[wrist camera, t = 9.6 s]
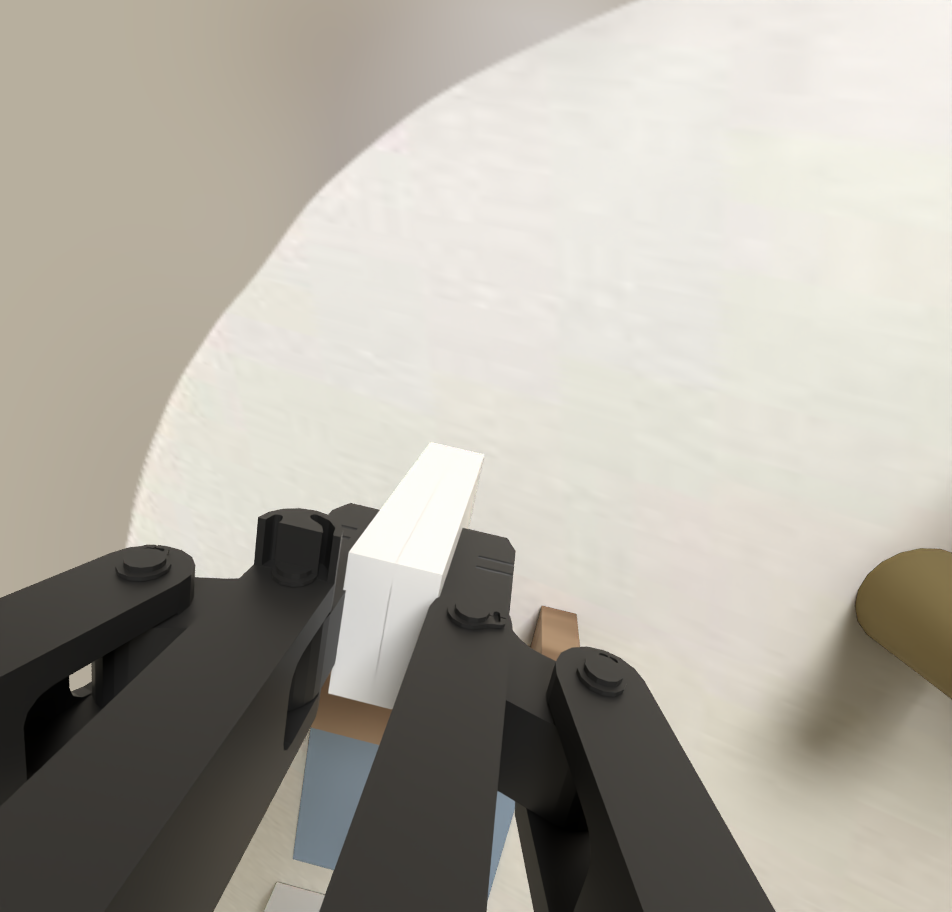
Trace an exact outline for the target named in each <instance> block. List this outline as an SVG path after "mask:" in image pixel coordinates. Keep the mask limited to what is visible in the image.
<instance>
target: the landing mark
mask: <svg viewBox="0 0 952 912" xmlns="http://www.w3.org/2000/svg"><path fill="white" fill-rule="evenodd" d="M378 747H379V745H377V744H373V743H369V742H365V741H361V740H357V739H353V738H350V737H346V736H342V735H338V734H334V733H330V732H326V731H322V730H319V729H315V728H311V729H310V737H309V744H308V751H307V759H306V766H305V773H304V781H303V788H302V795H301V803H300V810H299V817H298V825H297V832H296V839H295V847H294V854H293V859H294V860H298V861H302V862H306V863H309V864H313V865H317V866H320V867H324V868H328V869H331V870H334V869H335V866H336V863H337V861H338V858H339V855H340V852H341V850H342V847H343V844H344V841H345V839H346V836H347V833H348V830H349V827H350V825H351V822H352V819H353V816H354V814H355V811H356V808H357V805H358V803H359V800H360V797H361V794H362V792H363V789H364V786H365V783H366V780H367V778H368V775H369V772H370V769H371V767H372V764H373V761H374V758H375V756H376V753H377V750H378ZM514 810H515V801H514V800H512V799H510V798H509V797H507V796H505V795H504V794H502V793H500V792H499V791H497V801H496V812H495V823H494V834H493V845H492V855H491V866H490V877H489V888H488V897H489V894H490V890H491V887H492V884H493V880H494V877H495V874H496V870H497V867H498V863H499V860H500V857H501V853H502V850H503V847H504V843H505V840H506V836H507V833H508V830H509V826H510V823H511V820H512V816H513V813H514ZM487 900H488V899H487Z"/></svg>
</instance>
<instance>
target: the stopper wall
mask: <svg viewBox="0 0 952 912" xmlns="http://www.w3.org/2000/svg"><path fill="white" fill-rule="evenodd" d="M324 897H325V895H323V894H319V893H316V892H312V891H308V890H305V889H301V888H297V887H294V886H290V885H286V884H283V883H279V882H277V883H276V885H275V887H274V890H273V892H272V894H271V896H270V899H269V901H268V903H267V905H266V907H265V910H264V912H319V910H320V908H321V905H322V902H323V899H324Z"/></svg>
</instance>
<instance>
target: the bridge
mask: <svg viewBox="0 0 952 912" xmlns="http://www.w3.org/2000/svg"><path fill="white" fill-rule="evenodd" d="M572 647H580V643H579V633H578V624H577V615H576V614H574V613H570V612H566V611H562V610H558V609H553V608H549V607H545V606H542V607H541V611H540V614H539V618H538V622H537V625H536V629H535V633H534V636H533V640H532V643H531V647H530V648H532V649H533V650H535V651H537V652H539V653H540V654H542V655H545V656H547V657H549V658H551V659H553V660H555V661H556V660H557V658H558V657H559V655H560V653H561V652H563V651H565V650H567V649H570V648H572ZM331 671H332V670H331ZM330 678H331V672H330V674H329V675H328V677H327V679H326V681H325V683H324V684H323V686H322V688H321V693H320V701H319V707H318V711H317V715H316V717H315V719H314V721H313V723H312V725H311V728H315V729H319V730H322V731H326V732H330V733H334V734H338V735H342V736H346V737H350V738H353V739H357V740H361V741H365V742H369V743H373V744H377V745H380V742H381V739H382V736H383V733H384V731H385V728H386V725H387V722H388V720H389V717H390V714H391V711H392V709H388V708H384V707H380V706H376V705H372V704H368V703H364V702H360V701H357V700H353V699H349V698H345V697H341V696H337V695H333V694H329V693H328V691H329V685H330Z"/></svg>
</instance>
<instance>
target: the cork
mask: <svg viewBox="0 0 952 912" xmlns="http://www.w3.org/2000/svg"><path fill="white" fill-rule="evenodd" d="M855 608H856V614H857V619H858V622H859V623H860V625H861V627H862V628H863V630H864V631H865V633H866V634H867V635H868V636H870V637H871V638H872V639H874V640H875V641H876V642H878V643H879V644H880V645H882V646H883V647H884V648H885V649H887V650H888V651H889V652H891V653H892V654H893V655H895V656H896V657H897V658H899V659H900V660H901V661H902V662H904V663H905V664H906V665H908V666H909V667H910V668H912V669H913V670H914V671H916V672H917V673H918V674H919V675H921V676H922V677H923V678H925V679H926V680H927V681H929V682H930V683H931V684H933V685H934V686H935V687H936V688H938V689H939V690H940V691H942V692H943V693H944V694H946V695H947V696H948V697H950V698H951V699H952V553H951V552H948V551H945V550H942V549H924V548H920V549H915V550H911V551H907V552H902V553H899V554H897V555H895V556H893V557H891V558H889V559H887V560H885V561H883V562H882V563H880V564H879V565H878V566H877V567H876V568H875V569H874V570H873V571H871V572H870V573H869V574H868V575H867V577H866V578H865V580H864V582H863V583H862V585H861V587H860V588H859V590H858V594H857V599H856V604H855Z"/></svg>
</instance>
